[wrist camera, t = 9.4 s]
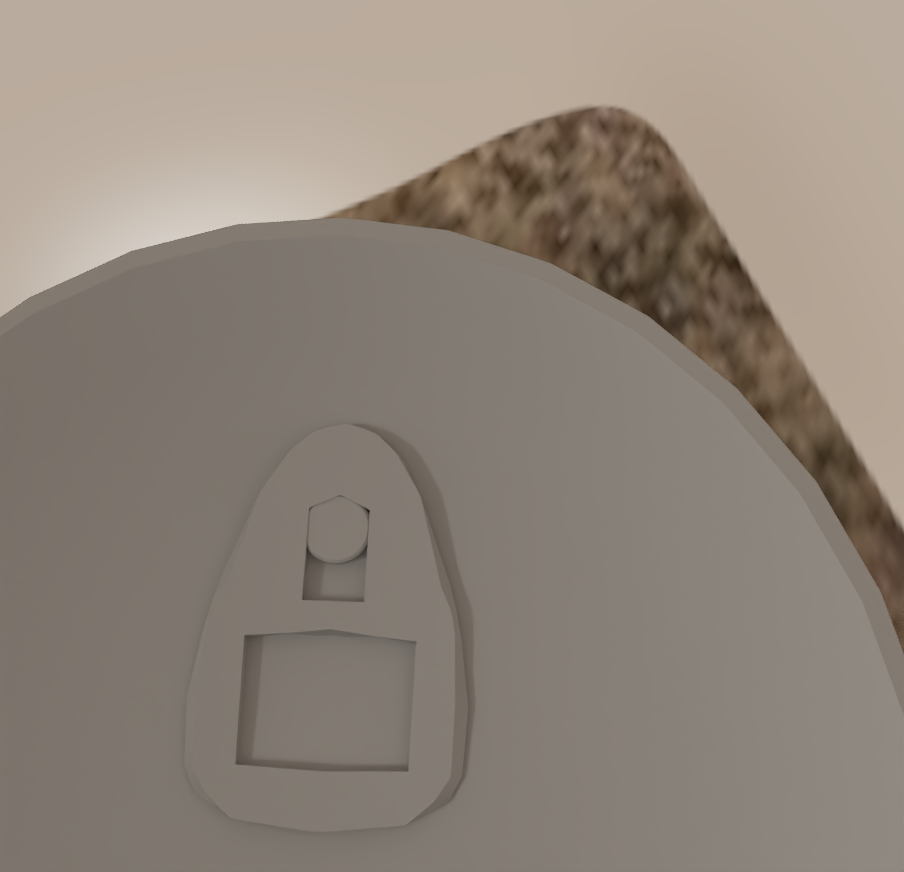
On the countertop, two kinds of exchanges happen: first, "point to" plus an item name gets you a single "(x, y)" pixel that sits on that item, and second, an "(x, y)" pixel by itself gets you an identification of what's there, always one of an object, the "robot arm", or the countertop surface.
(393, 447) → the canned food
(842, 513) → the countertop surface
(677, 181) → the countertop surface
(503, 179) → the countertop surface
